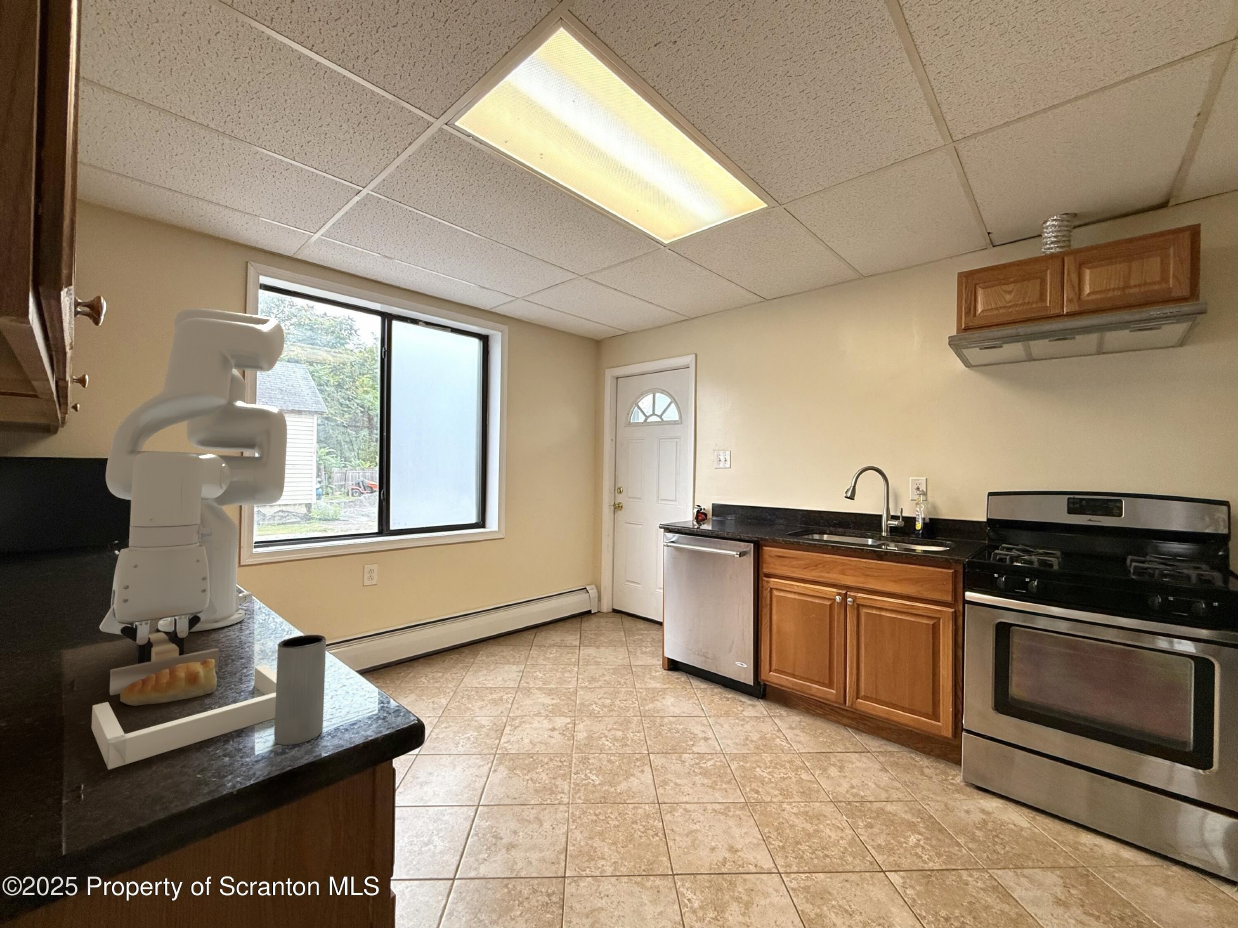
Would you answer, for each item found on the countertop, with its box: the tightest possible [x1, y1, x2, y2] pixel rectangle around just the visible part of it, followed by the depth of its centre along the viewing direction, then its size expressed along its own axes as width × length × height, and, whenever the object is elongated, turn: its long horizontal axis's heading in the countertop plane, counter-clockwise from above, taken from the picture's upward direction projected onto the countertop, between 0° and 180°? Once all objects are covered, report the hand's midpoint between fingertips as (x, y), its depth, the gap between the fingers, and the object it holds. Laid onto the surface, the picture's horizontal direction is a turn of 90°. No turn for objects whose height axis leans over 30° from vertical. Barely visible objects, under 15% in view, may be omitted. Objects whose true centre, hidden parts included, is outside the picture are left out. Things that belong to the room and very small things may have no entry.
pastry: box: [119, 659, 218, 707], centre depth 65 cm, size 9×7×4 cm
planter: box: [273, 634, 327, 746], centre depth 56 cm, size 4×4×10 cm
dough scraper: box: [109, 631, 220, 696], centre depth 72 cm, size 12×11×4 cm
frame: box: [91, 664, 277, 770], centre depth 59 cm, size 12×16×2 cm
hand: (159, 666), depth 72 cm, fingers closed on dough scraper, 2 cm apart
